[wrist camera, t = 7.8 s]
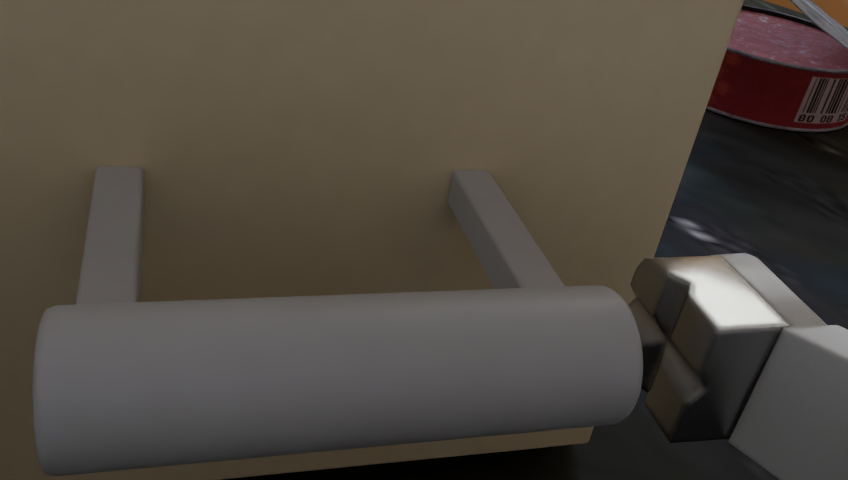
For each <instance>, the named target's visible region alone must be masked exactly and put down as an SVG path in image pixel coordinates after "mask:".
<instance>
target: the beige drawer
mask: <svg viewBox="0 0 848 480" xmlns="http://www.w3.org/2000/svg"><path fill="white" fill-rule="evenodd" d="M743 2H744V0H0V480H223V479H233V478H243V477H253V476H263V475H273V474H283V473H293V472H303V471H313V470H323V469H334V468H344V467H354V466H364V465H374V464H384V463H394V462H404V461H414V460H424V459H434V458H444V457H455V456H465V455H475V454H485V453H495V452H505V451H515V450H525V449H535V448H545V447H555V446H565V445H576V444H585V443H588V442H589V439H590V437H591V434H592V431H593V428H594V426H604V425H613V424H616V423H619V422H620V421H622V420H623V419H625V418H626V417H627V416H628V415H629V414H630V413H631V412H632V410H633V409H634V407H635V405H636V403H637V400H638V397H639V394H640V390H641V385H642V378H643V353H642V345H641V339H640V335H639V331H638V327H637V324H636V321H635V319H634V316H633V314H632V312H631V310H630V308H629V306H628V304H629V303H631V302H632V301H633V300H634V299H635V298H636V297H635V295H634V292H633V290H632V288H631V285H630V283H631V281H632V278H633V275H634V272H635V270H636V268H637V267H638V265H639V264H640V263H641V262H642V261H643V259H644V258H654V255H655V252H656V249H657V246H658V243H659V240H660V238H661V235H662V232H663V229H664V226H665V223H666V221H667V218H668V215H669V212H670V209H671V206H672V204H673V201H674V198H675V195H676V192H677V189H678V186H679V184H680V181H681V178H682V175H683V172H684V169H685V167H686V164H687V161H688V158H689V155H690V152H691V150H692V147H693V144H694V141H695V138H696V135H697V132H698V130H699V127H700V124H701V121H702V118H703V115H704V113H705V110H706V107H707V104H708V101H709V98H710V96H711V93H712V90H713V87H714V84H715V81H716V78H717V76H718V73H719V70H720V67H721V64H722V61H723V59H724V56H725V53H726V50H727V47H728V44H729V42H730V39H731V36H732V33H733V30H734V27H735V24H736V22H737V19H738V16H739V13H740V10H741V7H742V5H743Z"/></svg>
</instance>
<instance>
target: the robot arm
mask: <svg viewBox="0 0 848 480" xmlns="http://www.w3.org/2000/svg"><path fill="white" fill-rule="evenodd" d="M630 285H631V288H632V290H633V292H634V295H635V297H636V298H635V299H634V300H633V301H632V302H631V303H629V304H628V306H629V308H630V310H631V312H632V314H633V316H634V319H635V321H636V324H637V327H638V331H639V335H640V339H641V345H642V353H643V378H642V385H641V388H642V389H643V390H645V391H646V392H648V393H647V398H646V404H645V406H646V407H647V409H648V410H649V412H650V413H651V415H652V416H653V418H654V419H655V421H656V422H657V424H658V425H659V427H660V428H661V429H662V431H663V432H664V434H665V435H666V437H667V438H668V440H669V441H670V443H676V442H691V441H705V440H719V439H729V441H728V442H729V443H730V444H732V445H733V446H735V447H736V448H737V449H739V450H740V451H741V452H743V453H744V454H745V455H747V456H748V457H749V458H751V459H752V460H753V461H755V462H756V463H757V464H759V465H760V466H761V467H763V468H764V469H765V470H767V471H768V472H770V473H771V474H772V475H774V476H775V477H776V478H778V479H779V480H848V330H847V329H845V328H843V327H841V326H838V325H827V324H826V323H824V322H823V321H822V320H821V319H820V318H819V317H818V316H817V315H816V314H815V313H814V312H813V311H812V310H811V309H810V308H809V307H808V306H807V305H806V304H805V303H804V302H803V301H802V300H801V299H799V298H798V297H797V296H796V295H795V294H794V293H793V292H792V291H791V290H790V289H789V288H788V287H787V286H786V285H785V284H784V283H783V282H782V281H781V280H780V279H779V278H778V277H777V276H776V275H774V274H773V273H772V272H771V271H770V270H769V269H768V268H767V267H766V266H765V265H764V264H763V263H762V262H761V261H760V260H759V259H758V258H757V257H754V256H752V255H749V254H746V253H737V254H720V255H711V256H694V257H668V258H644V259H643V261H642V262H641V263H640V264H639V265H638V267H637V268H636V270H635V272H634V275H633V278H632V281H631V283H630Z"/></svg>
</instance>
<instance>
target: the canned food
mask: <svg viewBox="0 0 848 480" xmlns="http://www.w3.org/2000/svg"><path fill="white" fill-rule="evenodd" d="M790 1H791V2H792V3H793V4H794V5H795V6H797V7H798V8H799V9H800V10H801V11H802V12H803V13H804V14H805V15H806V16H807V17H808V18H809V19H810V20H811V21H812V22H811V21H808V20H805V19H802V18H799V17H795V16H791V15H788V14H784V13H780V12H776V11H772V10H768V9H763V8H758V7H753V6H748V5H742V7H741V10H740V13H739V16H738V19H737V22H736V24H735V27H734V30H733V33H732V36H731V39H730V42H729V44H728V47H727V50H726V53H725V56H724V59H723V61H722V64H721V67H720V70H719V73H718V76H717V78H716V81H715V84H714V87H713V90H712V93H711V96H710V98H709V101H708V104H707V107H706V109H708V110H710V111H713V112H715V113H718V114H721V115H724V116H727V117H730V118H733V119H737V120H740V121H744V122H748V123H751V124H755V125H760V126H765V127H769V128H774V129H781V130H788V131H797V132H829V131H834V130H839V129H841V128H843V127H845V126H847V125H848V31H847V30H846V29H845V28H844V27H843V26H842V25H840V24H839V23H838V22H836V21H835V20H834V19H832V18H831V17H830V16H828V15H827V14H826V13H825V12H823V11H822V10H821V9H820V8H819V7H818V6H817V5H816V4H815V3H814V2H812V1H811V0H790Z"/></svg>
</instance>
